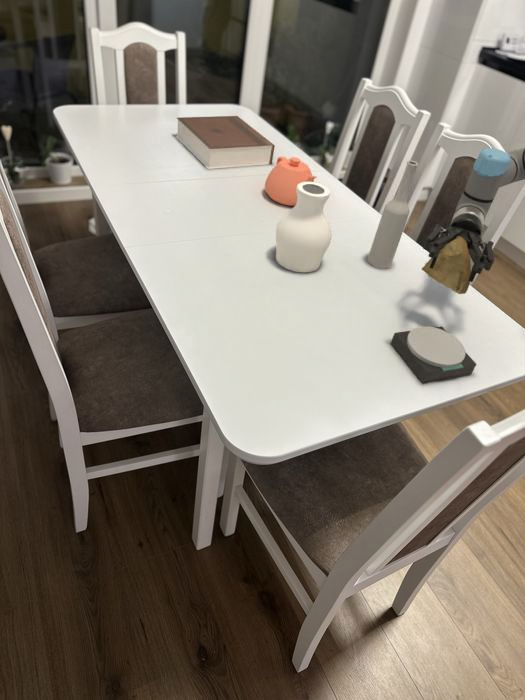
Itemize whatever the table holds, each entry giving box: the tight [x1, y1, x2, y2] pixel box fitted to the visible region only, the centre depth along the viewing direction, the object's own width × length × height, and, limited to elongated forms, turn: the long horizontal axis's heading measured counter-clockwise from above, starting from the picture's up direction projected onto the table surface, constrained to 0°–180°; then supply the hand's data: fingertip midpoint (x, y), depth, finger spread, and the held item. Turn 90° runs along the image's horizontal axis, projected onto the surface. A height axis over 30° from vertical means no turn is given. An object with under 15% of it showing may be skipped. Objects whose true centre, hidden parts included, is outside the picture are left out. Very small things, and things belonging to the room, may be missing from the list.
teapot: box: [264, 155, 318, 207], centre depth 165 cm, size 22×16×12 cm
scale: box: [390, 325, 478, 384], centre depth 118 cm, size 13×13×4 cm
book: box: [175, 115, 276, 170], centre depth 189 cm, size 24×28×6 cm
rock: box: [421, 236, 472, 295], centre depth 119 cm, size 11×9×10 cm
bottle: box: [367, 160, 419, 270], centre depth 139 cm, size 7×7×28 cm
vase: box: [275, 181, 333, 274], centre depth 136 cm, size 14×14×20 cm
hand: (453, 269), depth 114 cm, fingers closed on rock, 8 cm apart
